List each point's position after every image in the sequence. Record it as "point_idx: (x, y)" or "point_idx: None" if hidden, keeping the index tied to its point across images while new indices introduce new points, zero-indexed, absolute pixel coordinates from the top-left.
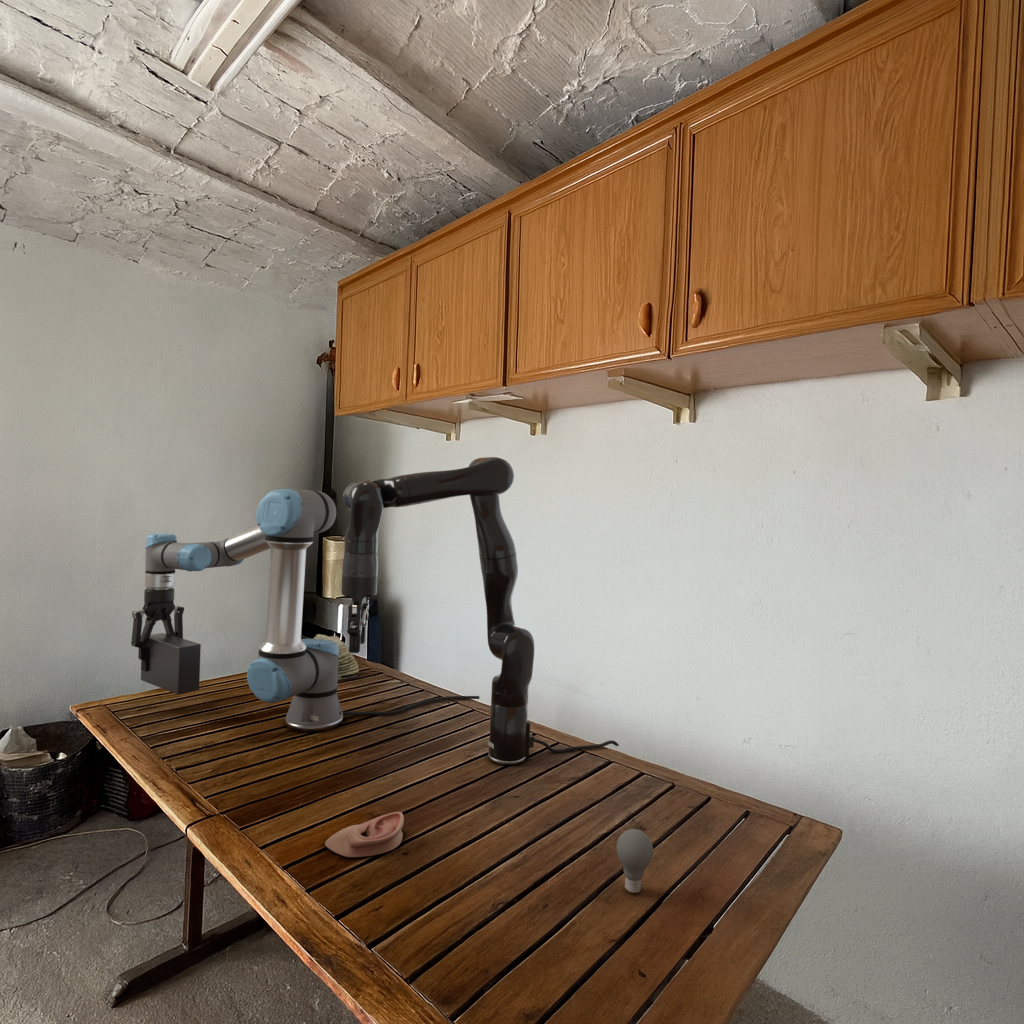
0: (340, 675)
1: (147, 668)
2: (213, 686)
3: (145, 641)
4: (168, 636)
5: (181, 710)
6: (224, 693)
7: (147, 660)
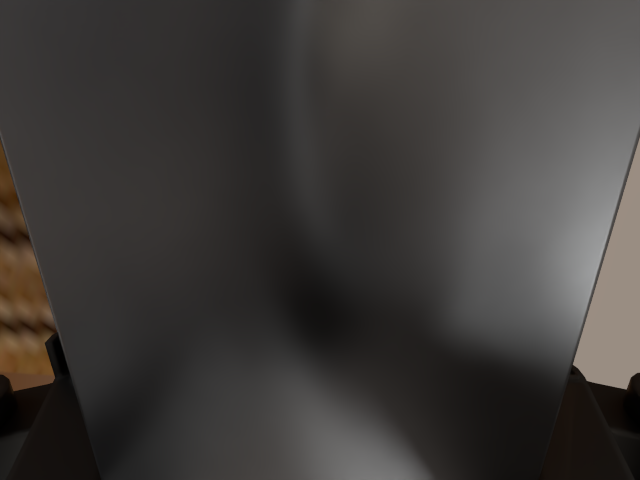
0: None
1: None
2: (18, 303)
3: (582, 430)
4: (184, 394)
5: None
6: (4, 183)
7: None
